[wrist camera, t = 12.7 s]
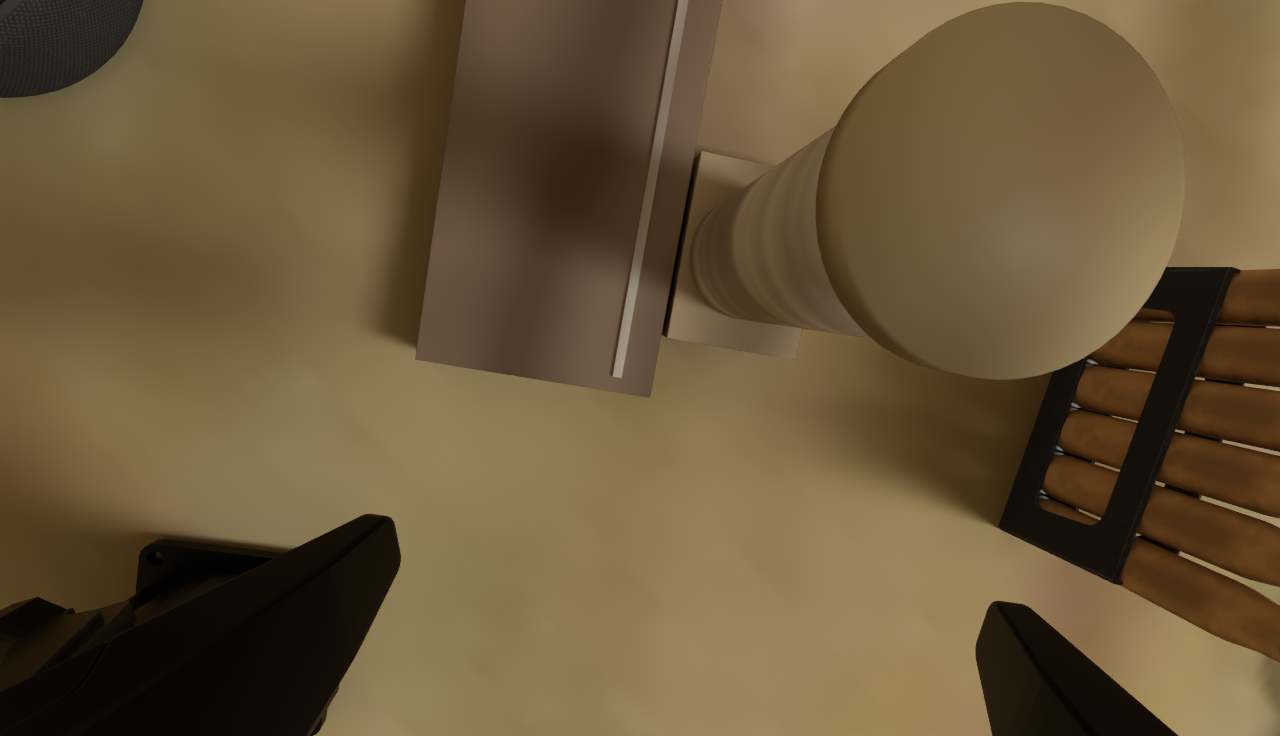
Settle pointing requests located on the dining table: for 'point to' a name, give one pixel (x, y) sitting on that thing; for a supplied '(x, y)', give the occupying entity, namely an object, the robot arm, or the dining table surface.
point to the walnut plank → (565, 187)
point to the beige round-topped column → (950, 206)
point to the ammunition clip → (1169, 455)
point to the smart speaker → (59, 41)
